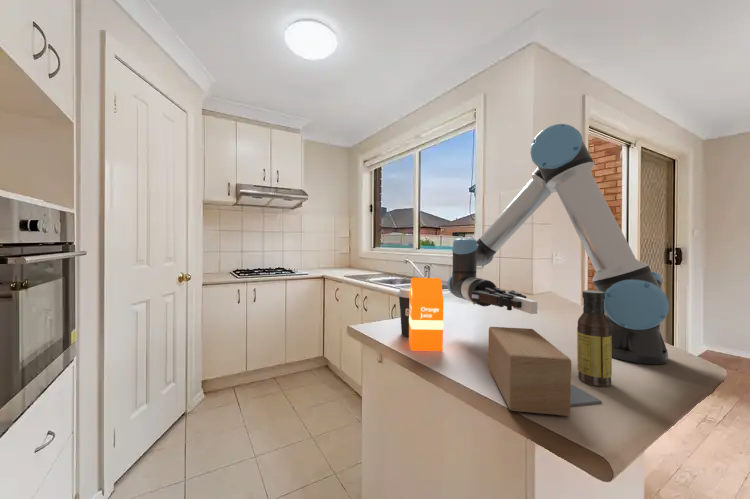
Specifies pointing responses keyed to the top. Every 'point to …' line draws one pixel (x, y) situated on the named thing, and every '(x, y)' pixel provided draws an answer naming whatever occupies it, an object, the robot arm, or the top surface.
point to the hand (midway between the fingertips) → (534, 307)
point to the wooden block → (529, 371)
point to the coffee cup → (404, 310)
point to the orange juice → (426, 314)
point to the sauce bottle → (594, 341)
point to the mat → (581, 397)
